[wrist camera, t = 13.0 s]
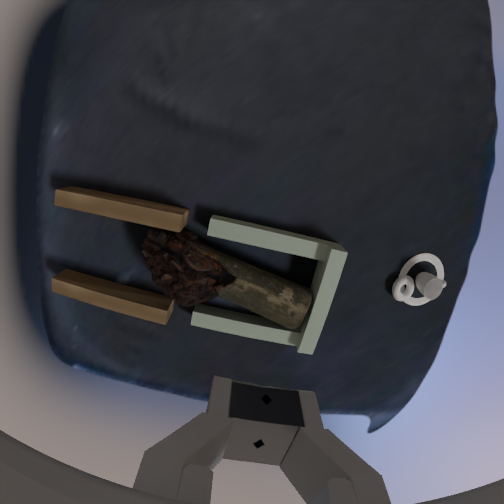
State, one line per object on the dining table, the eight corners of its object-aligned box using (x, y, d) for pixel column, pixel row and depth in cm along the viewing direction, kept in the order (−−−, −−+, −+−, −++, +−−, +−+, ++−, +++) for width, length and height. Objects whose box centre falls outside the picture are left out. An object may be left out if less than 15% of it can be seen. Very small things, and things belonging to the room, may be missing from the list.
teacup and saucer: (383, 298, 42) (394, 311, 38) (402, 244, 40) (415, 253, 36) (430, 307, 43) (442, 320, 39) (449, 258, 40) (463, 267, 37)
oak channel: (71, 186, 38) (55, 189, 34) (189, 209, 38) (182, 215, 35) (65, 281, 41) (52, 291, 38) (172, 310, 42) (165, 324, 38)
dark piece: (309, 282, 41) (318, 305, 35) (280, 330, 43) (284, 357, 37) (161, 211, 39) (144, 222, 32) (140, 265, 41) (121, 284, 34)
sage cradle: (213, 214, 39) (208, 220, 35) (339, 243, 40) (347, 252, 36) (194, 315, 43) (188, 330, 39) (308, 338, 43) (312, 354, 40)
